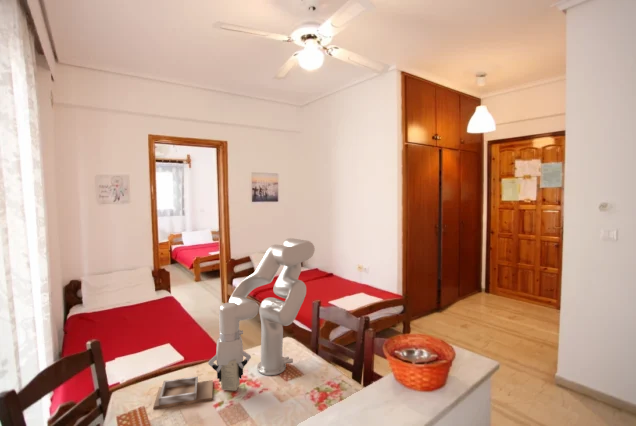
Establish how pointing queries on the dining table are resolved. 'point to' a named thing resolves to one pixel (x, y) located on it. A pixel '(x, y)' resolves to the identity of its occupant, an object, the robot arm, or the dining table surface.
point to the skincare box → (230, 376)
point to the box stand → (183, 392)
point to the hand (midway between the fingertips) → (230, 378)
